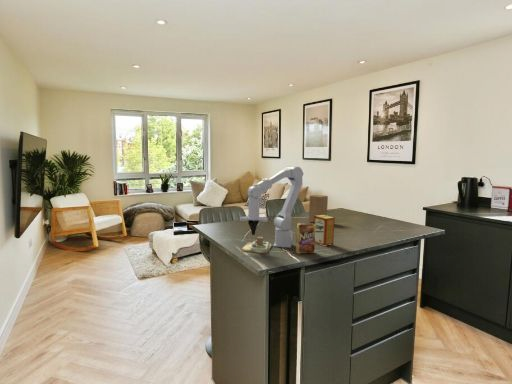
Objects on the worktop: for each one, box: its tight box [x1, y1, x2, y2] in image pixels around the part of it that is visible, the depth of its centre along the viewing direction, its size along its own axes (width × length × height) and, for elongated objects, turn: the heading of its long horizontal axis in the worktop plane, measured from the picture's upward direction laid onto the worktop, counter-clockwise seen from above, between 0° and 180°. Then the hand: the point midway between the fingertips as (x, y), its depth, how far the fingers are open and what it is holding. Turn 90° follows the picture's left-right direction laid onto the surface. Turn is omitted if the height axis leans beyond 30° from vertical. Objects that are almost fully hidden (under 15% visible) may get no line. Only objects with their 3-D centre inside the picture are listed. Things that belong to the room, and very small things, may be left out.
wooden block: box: [308, 194, 329, 223], centre depth 244 cm, size 10×10×20 cm
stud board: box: [240, 239, 273, 254], centre depth 173 cm, size 13×13×3 cm
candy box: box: [295, 222, 316, 255], centre depth 166 cm, size 9×4×15 cm, turn 93°
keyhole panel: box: [251, 236, 270, 251], centre depth 173 cm, size 8×13×5 cm, turn 174°
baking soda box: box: [314, 214, 335, 246], centre depth 185 cm, size 10×6×16 cm
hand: (253, 234), depth 173 cm, fingers closed
